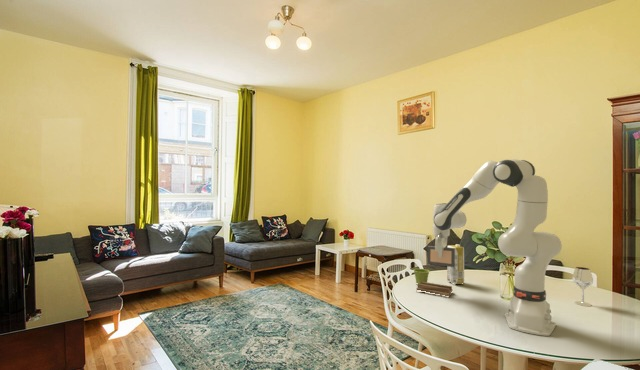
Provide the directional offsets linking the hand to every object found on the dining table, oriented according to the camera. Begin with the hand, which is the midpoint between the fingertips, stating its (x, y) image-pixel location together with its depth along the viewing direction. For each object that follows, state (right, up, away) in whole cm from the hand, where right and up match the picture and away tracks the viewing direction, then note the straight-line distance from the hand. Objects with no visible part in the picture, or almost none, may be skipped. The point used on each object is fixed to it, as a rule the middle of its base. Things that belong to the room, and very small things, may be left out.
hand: (440, 256), depth 181 cm
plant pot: (-6, -21, +15) cm, 26 cm away
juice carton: (+16, -21, +19) cm, 32 cm away
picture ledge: (-3, -20, +1) cm, 20 cm away
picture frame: (0, -5, 0) cm, 5 cm away
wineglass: (+66, -20, -17) cm, 71 cm away
